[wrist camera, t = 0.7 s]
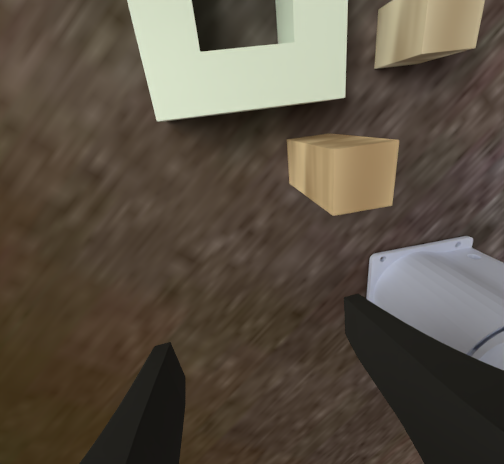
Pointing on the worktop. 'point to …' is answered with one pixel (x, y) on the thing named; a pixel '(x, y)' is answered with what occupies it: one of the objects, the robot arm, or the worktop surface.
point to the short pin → (425, 30)
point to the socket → (241, 60)
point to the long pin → (344, 171)
